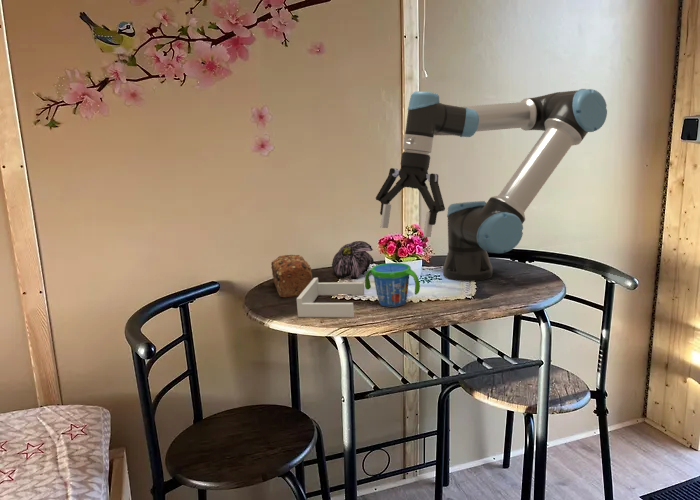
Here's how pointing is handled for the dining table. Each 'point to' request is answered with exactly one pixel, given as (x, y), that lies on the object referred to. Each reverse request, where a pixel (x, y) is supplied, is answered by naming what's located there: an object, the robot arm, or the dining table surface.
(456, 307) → the dining table surface
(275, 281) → the bread
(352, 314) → the fence
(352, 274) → the decorative flower
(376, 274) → the snack cup
